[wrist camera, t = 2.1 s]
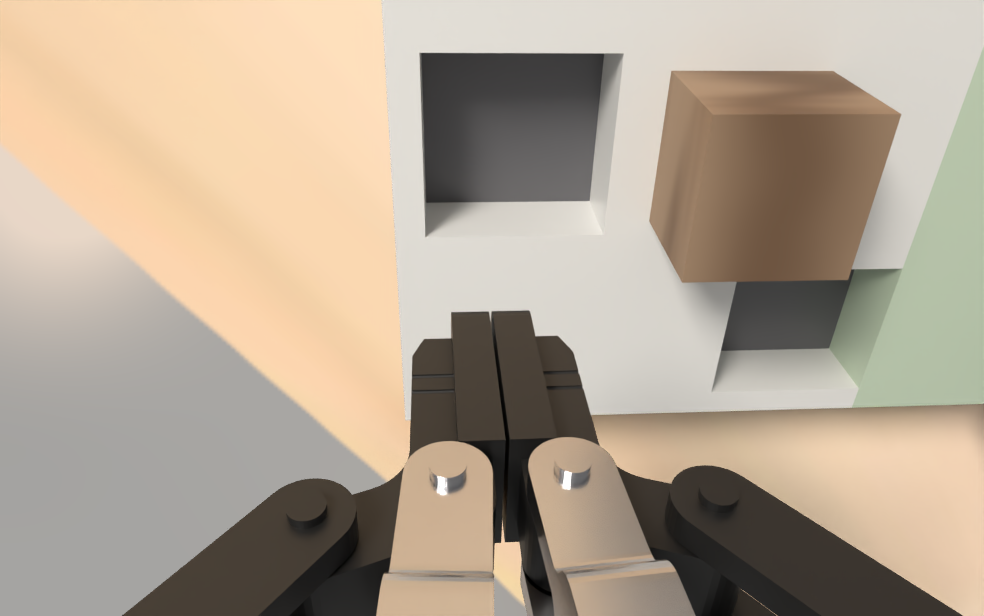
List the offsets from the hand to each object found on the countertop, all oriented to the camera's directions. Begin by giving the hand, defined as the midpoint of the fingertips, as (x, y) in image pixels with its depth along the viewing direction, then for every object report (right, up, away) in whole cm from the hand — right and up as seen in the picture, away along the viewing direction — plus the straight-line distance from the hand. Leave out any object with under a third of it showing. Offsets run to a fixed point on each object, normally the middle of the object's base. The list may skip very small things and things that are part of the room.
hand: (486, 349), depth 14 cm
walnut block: (+8, +6, +10) cm, 14 cm away
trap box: (+9, +5, +14) cm, 17 cm away
